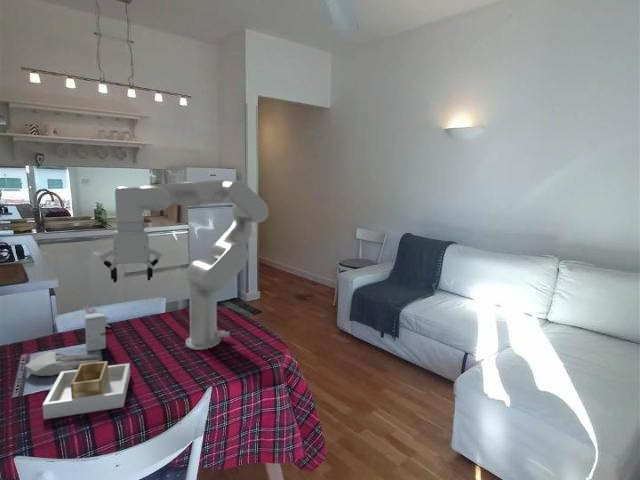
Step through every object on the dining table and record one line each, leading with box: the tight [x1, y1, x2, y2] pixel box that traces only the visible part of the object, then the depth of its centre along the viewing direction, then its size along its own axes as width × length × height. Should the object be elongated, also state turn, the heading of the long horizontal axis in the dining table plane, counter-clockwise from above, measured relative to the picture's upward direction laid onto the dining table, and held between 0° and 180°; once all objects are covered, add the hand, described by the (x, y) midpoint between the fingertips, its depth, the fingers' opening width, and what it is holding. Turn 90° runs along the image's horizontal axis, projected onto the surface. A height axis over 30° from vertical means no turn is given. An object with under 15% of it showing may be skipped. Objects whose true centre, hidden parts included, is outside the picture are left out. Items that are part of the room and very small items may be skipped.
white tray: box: [42, 363, 131, 420], centre depth 107 cm, size 18×17×4 cm
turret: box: [24, 351, 101, 377], centre depth 121 cm, size 10×20×5 cm, turn 126°
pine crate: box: [71, 360, 109, 399], centre depth 106 cm, size 7×11×6 cm, turn 21°
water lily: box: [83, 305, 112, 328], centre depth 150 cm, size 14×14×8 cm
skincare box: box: [84, 312, 107, 352], centre depth 134 cm, size 6×4×12 cm
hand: (132, 280), depth 120 cm, fingers open, 9 cm apart
